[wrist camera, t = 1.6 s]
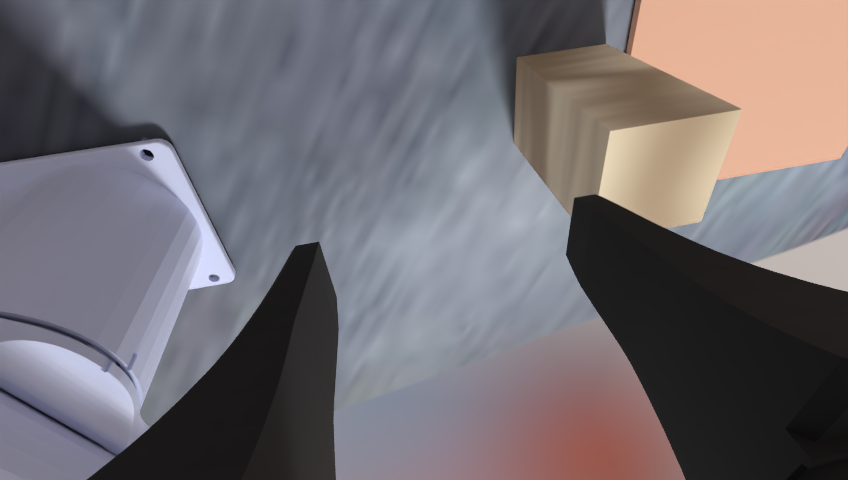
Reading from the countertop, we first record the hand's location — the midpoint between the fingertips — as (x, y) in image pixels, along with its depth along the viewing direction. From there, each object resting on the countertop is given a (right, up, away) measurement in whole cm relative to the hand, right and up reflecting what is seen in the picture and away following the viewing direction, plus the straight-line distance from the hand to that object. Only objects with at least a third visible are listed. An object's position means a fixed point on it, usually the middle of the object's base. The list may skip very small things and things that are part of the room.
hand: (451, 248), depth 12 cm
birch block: (+5, +7, +8) cm, 12 cm away
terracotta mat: (+15, +9, +9) cm, 19 cm away
